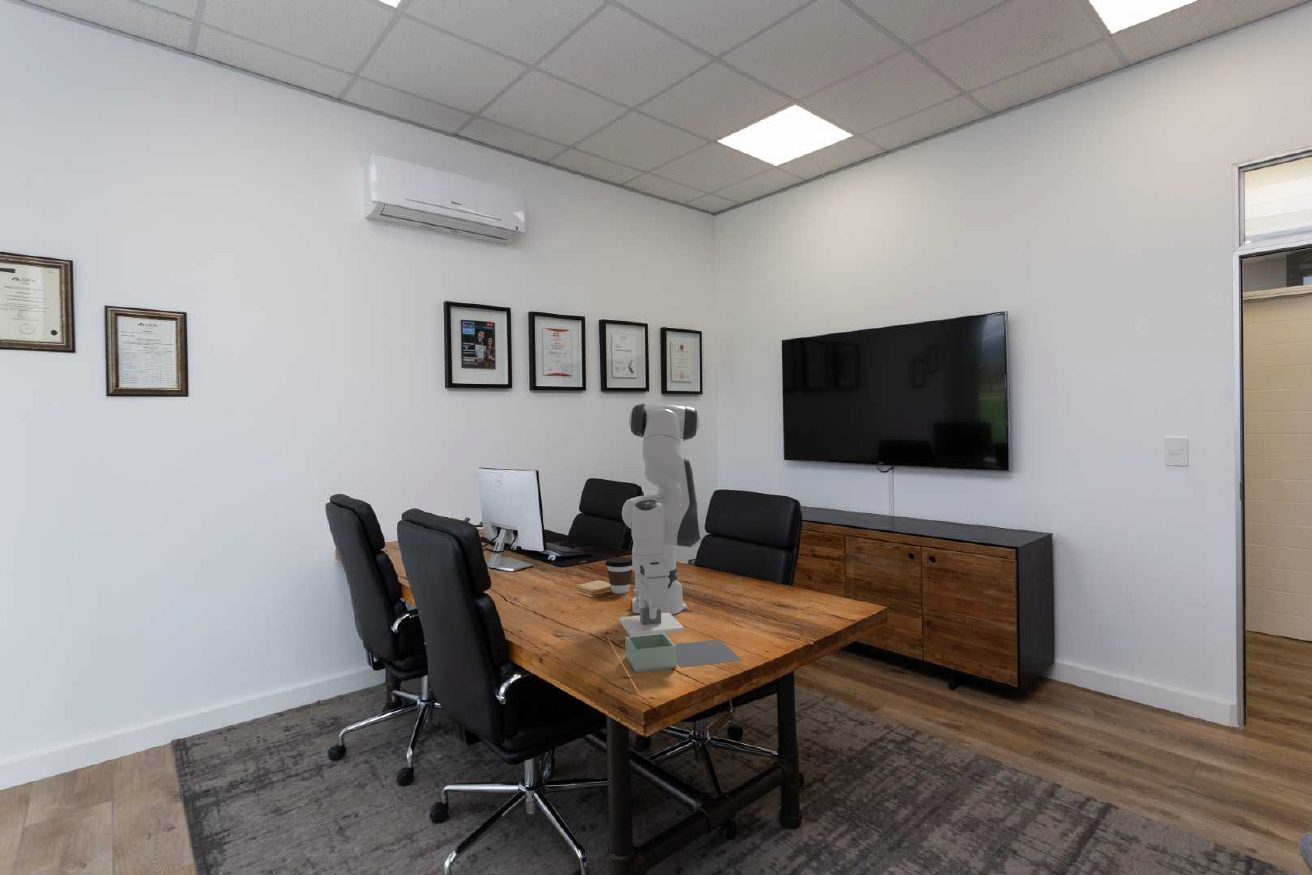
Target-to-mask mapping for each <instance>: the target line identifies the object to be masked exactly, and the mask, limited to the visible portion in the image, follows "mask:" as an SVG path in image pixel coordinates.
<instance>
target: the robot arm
mask: <svg viewBox="0 0 1312 875" xmlns="http://www.w3.org/2000/svg"><path fill="white" fill-rule="evenodd" d="M628 425H629V428H630V432H631V433H632V434H633V436H636V437H640V438H643V439H642V440H643V441H642V459H643V461H644V476H645V479H646V480H647V481H648V482H649V483H651V484H652V485H654V486H656V487H657V494H650V495H640V496H635V497H632V498H629V499H627V500H626V501H625V502H624V504H623V506H622V510H621V517H622V520H623V523H624V524H625V525H626V526H627V527H628V528H629V529H630V530H631V531H630V532H631V538H632V541H633V544H632V545H633V546H632V551H631V558H632V572H634V587H635V588H633V596H634V597H633V598H632V599H631V607H632V613H634V614H640V608H649V611H648V614H649V615H648V616H649V618H650V619H656V612H657V608H660V609H661V613H670V614H671V615H672V616H673V615H675V614H679V613H680V612H682V611H683V610H685V609H688V604H687V603H685V602H684V599H683V585H682V583H681V582H679V580H678V574H679V572H678V568H677V552H676V546H678V547H685V548H687V547H688V548H692V547H693V546H695V545H696V544H697V543H698V542H699V541H700V540H701V539H702V534H703V524H702V519H701V516H700V514H699V509H698V502H697V494H696V488H695V480H694V474H693V469H692V465H691V462H690V460H689V459H688V458H687V457H685V456H684V455H683V453H682V450H681V443H682V442H681V440H682V441H683V442H686V441H688V440H691V439H693V438H694V437H696V435H697V433H698V431H699V429H700V417H699V415H698V411H697V410H696V408H694V407H692V406H683V405H676V404H669V403H668V404H667V403H665V404H661V403H660V404H657V403H654V404H646V403H640V404H636V405H634V406H633V407H632V410H631V411H630V414H629V416H628Z"/></svg>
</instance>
